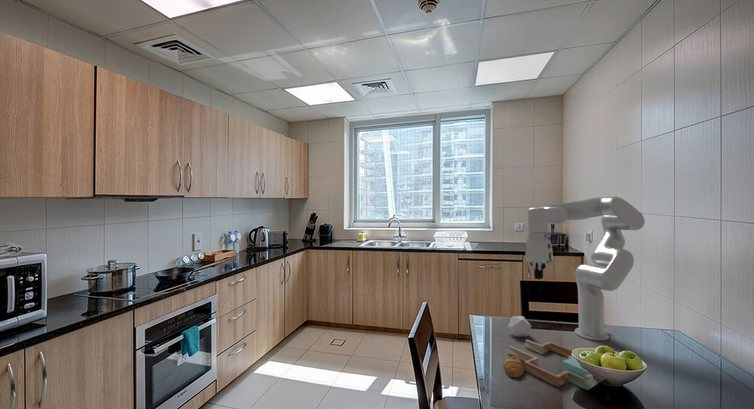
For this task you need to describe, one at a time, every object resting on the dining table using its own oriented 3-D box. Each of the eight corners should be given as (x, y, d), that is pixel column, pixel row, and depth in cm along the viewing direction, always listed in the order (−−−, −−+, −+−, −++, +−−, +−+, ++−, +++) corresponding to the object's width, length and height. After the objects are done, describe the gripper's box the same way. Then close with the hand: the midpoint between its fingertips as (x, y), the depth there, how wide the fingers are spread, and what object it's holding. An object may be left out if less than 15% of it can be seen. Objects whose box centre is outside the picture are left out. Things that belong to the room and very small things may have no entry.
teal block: (572, 371, 110) (572, 356, 110) (597, 381, 103) (597, 366, 103) (562, 375, 107) (562, 361, 107) (588, 387, 100) (587, 371, 101)
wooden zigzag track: (535, 343, 132) (535, 334, 133) (615, 374, 107) (614, 362, 107) (498, 357, 120) (497, 347, 120) (577, 396, 95) (577, 383, 95)
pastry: (525, 381, 104) (525, 369, 104) (503, 377, 107) (503, 366, 107) (523, 367, 113) (523, 357, 113) (503, 364, 116) (503, 354, 116)
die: (529, 342, 135) (537, 321, 138) (509, 331, 137) (518, 310, 140) (520, 341, 143) (528, 321, 146) (502, 331, 144) (510, 311, 148)
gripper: (560, 236, 130) (561, 281, 130) (527, 234, 143) (528, 274, 143) (550, 237, 126) (550, 283, 126) (517, 235, 139) (517, 276, 139)
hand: (538, 278), depth 134 cm, fingers closed
